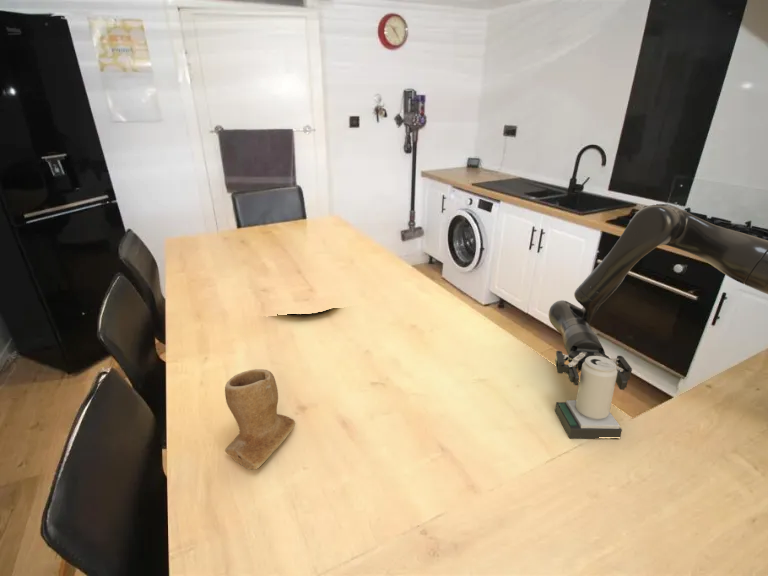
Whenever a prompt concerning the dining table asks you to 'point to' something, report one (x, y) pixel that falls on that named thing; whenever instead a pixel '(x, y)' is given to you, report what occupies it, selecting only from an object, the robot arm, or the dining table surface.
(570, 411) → the scale
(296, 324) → the dining table surface
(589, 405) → the beverage can
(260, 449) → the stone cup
